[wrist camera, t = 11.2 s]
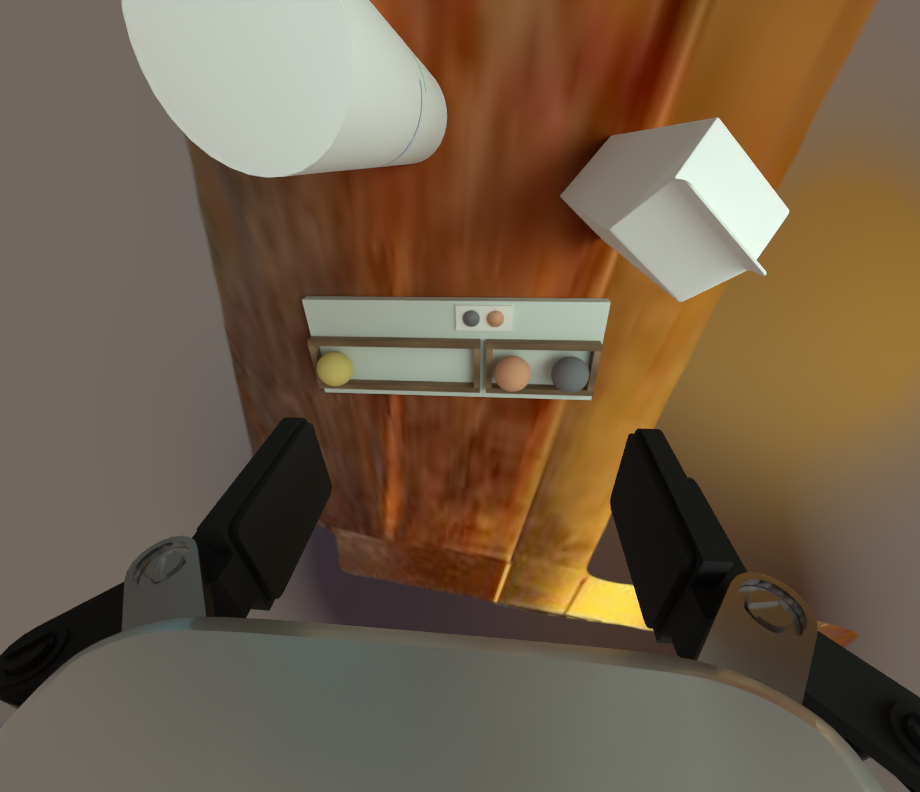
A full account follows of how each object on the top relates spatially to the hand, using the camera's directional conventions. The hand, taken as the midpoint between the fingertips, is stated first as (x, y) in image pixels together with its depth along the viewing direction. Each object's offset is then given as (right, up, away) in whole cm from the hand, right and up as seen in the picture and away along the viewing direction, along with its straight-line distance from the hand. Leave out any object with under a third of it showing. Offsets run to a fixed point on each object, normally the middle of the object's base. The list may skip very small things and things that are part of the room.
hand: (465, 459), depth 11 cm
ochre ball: (-15, +5, +32) cm, 36 cm away
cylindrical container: (-5, +26, +22) cm, 34 cm away
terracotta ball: (+6, +4, +30) cm, 31 cm away
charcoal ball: (+12, +4, +30) cm, 32 cm away
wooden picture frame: (-8, +6, +33) cm, 35 cm away
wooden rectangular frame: (+9, +5, +32) cm, 34 cm away
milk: (+13, +21, +23) cm, 34 cm away
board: (-1, +8, +33) cm, 34 cm away
